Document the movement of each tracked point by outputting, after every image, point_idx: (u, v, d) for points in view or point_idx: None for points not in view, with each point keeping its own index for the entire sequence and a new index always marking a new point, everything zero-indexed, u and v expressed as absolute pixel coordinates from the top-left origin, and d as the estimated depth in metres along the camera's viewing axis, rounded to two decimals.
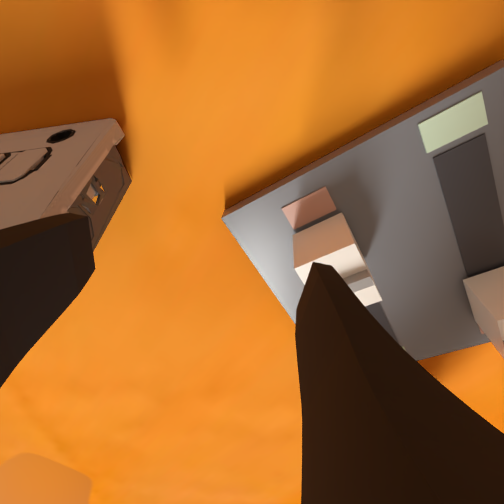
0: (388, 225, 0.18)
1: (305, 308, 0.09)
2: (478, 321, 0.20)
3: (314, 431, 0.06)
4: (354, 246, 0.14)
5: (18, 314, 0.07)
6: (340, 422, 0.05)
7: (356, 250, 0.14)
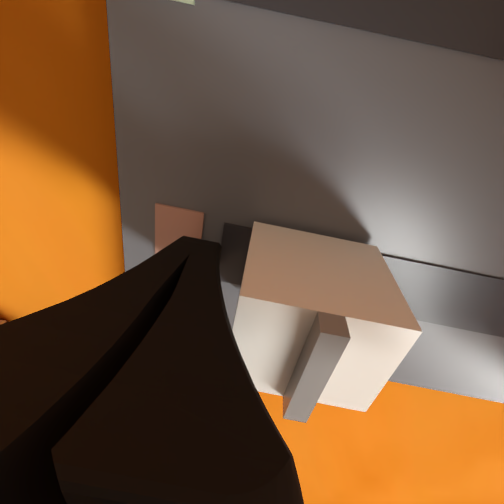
0: (296, 159, 0.08)
1: None
2: None
3: None
4: (246, 299, 0.06)
5: None
6: None
7: (258, 301, 0.06)
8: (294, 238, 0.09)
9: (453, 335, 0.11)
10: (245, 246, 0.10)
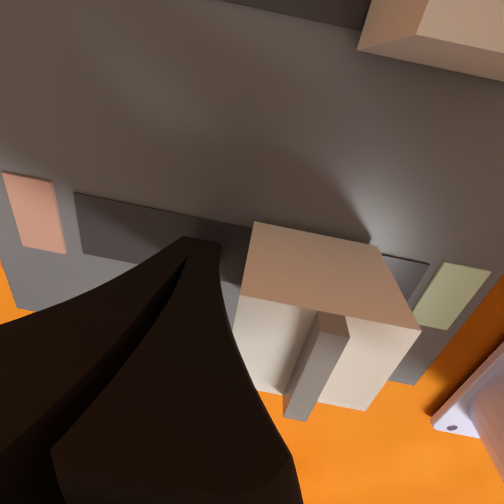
0: (124, 124, 0.08)
1: None
2: None
3: None
4: (246, 298, 0.06)
5: None
6: None
7: (258, 301, 0.06)
8: (294, 238, 0.09)
9: None
10: (100, 217, 0.10)
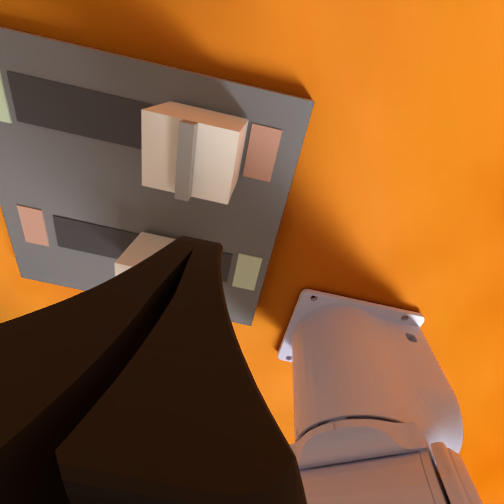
0: (75, 186, 0.18)
1: None
2: None
3: None
4: (117, 264, 0.16)
5: None
6: None
7: (121, 265, 0.16)
8: (157, 240, 0.18)
9: None
10: (66, 227, 0.20)
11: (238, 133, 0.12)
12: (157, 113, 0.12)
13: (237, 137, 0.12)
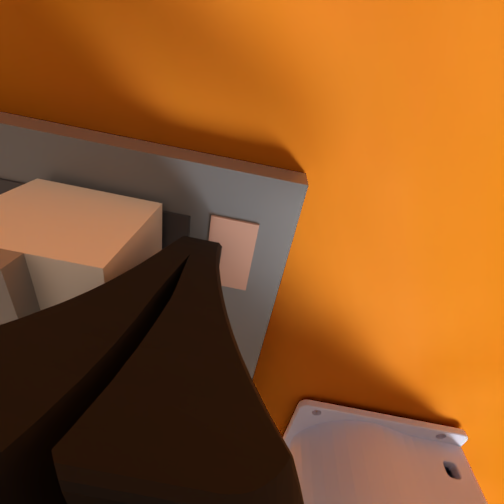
0: None
1: None
2: None
3: None
4: None
5: None
6: None
7: None
8: None
9: None
10: None
11: (101, 270, 0.06)
12: None
13: (101, 275, 0.06)
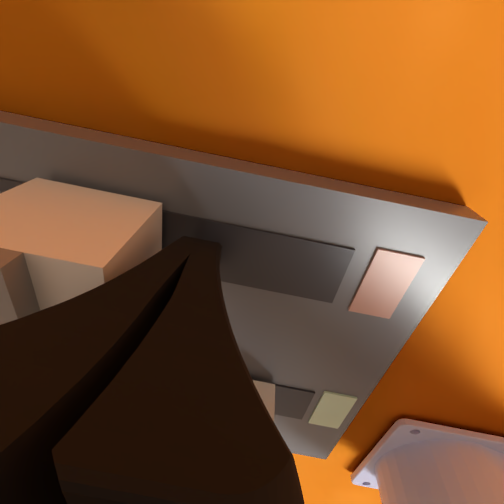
0: None
1: None
2: None
3: None
4: None
5: None
6: None
7: None
8: None
9: None
10: None
11: (101, 269, 0.06)
12: None
13: (101, 275, 0.06)
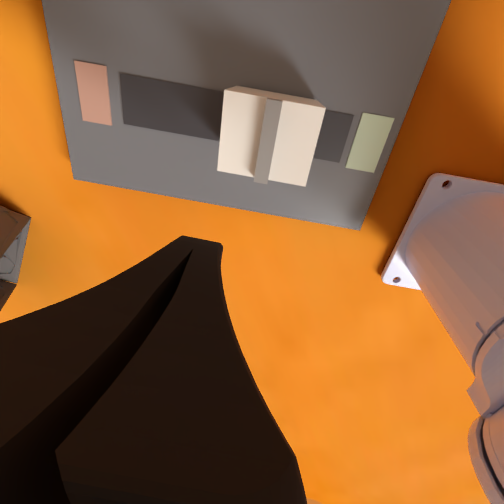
0: (154, 19, 0.14)
1: None
2: None
3: None
4: (228, 92, 0.11)
5: None
6: None
7: (234, 93, 0.11)
8: (261, 90, 0.14)
9: None
10: (136, 91, 0.15)
11: None
12: None
13: None
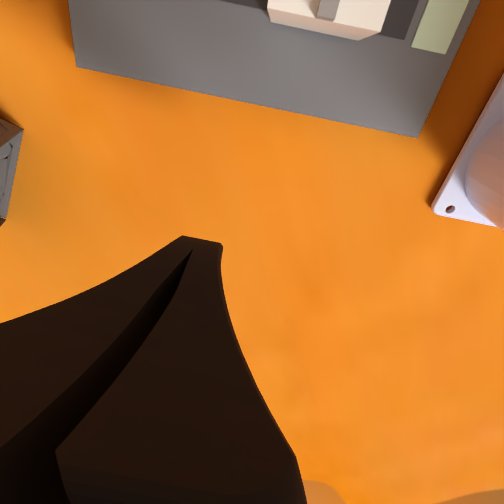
0: None
1: None
2: None
3: None
4: None
5: None
6: None
7: None
8: None
9: (344, 40, 0.13)
10: None
11: None
12: None
13: None
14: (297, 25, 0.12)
